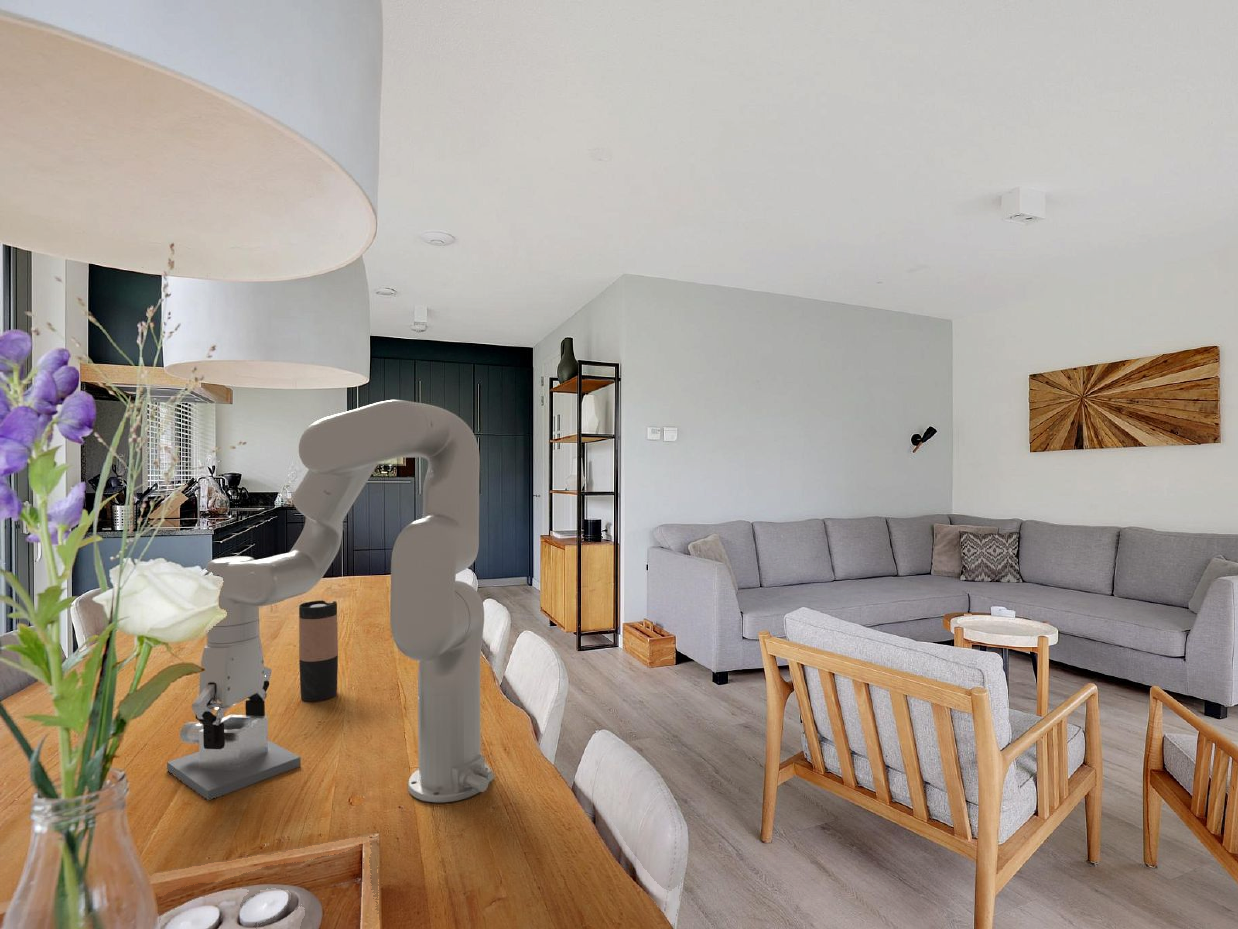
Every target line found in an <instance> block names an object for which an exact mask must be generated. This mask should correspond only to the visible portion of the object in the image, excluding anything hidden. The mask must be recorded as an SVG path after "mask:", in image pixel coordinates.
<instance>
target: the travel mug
mask: <svg viewBox="0 0 1238 929" xmlns="http://www.w3.org/2000/svg"><path fill="white" fill-rule="evenodd" d="M298 606H299V607H298V625H299V627H298V663H299V665H298V667H299V684H300V686H299V687H300V699H301V701H302V702H307V703H317V702H323V701H327V700H330V698H331V699H333V698H335V697H336V696H337V694H338V674H339V672H338V668H339V666H338V665H339V644H338V643H339V642H338V638H339V635H338V632H339V631H338V602H337V601H335V600H334V601H332V602H326V601H325V600H314V601H313V600H312V601H308V602H303V603H301V604H300V605H298ZM334 696H335V697H334Z"/></svg>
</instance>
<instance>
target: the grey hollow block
mask: <svg viewBox="0 0 1238 929" xmlns="http://www.w3.org/2000/svg"><path fill="white" fill-rule="evenodd" d="M221 723H224V737H225V746H224V748H222V749H205V748H204V741H203V725H201V724H200V721H187V722H185V724H183V726H182V727H181V729H180V733H179V739H180V740H181V742H182V743H184V744H185V743H186V744H198V752H199V768H200V769H218V770H236V771H240V770H241V769H243V768H244V767H246V766H247V765H249V764H250V763H252V762H253V761H254V760H256V759H257V758H259V757H260V756H262V755H263V754H265V753H266V752H268V740H269V738H268V736H269V733H268V732H269V730H268V729H269V728H268V726H269V724H268V723H269V718H268V716H267V715H265V716H252V715H246V714H228V715H227V716H223V718H222V720H221ZM233 729H239V730H233Z"/></svg>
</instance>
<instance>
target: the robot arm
mask: <svg viewBox="0 0 1238 929" xmlns="http://www.w3.org/2000/svg"><path fill="white" fill-rule="evenodd" d="M298 454H299V458H300V461H301V463H302V464H303V465H304V467H305V468H307V469H308V470H307V471H306V473H305V475H304V477H303V478H302V480H301V482H300V483H299V485H298V487H297V488H296V489H295V491H294V492H293V495H292V504H293V506H294V508H296V510H297V511H298V512H299V513H300V514H301V515H303V516H304V517H305V522H304V526H303V528H302V531H301V533H300V535H299V537H298V539H297V540H296V542H295V543H294V544H293V546H292V548H291V549H290V551H288V552H286V553H280V554H276V555H275V554H274V555H272V556H268V557H265V558H264V557H263V558H259V559H255V558H254V557H252V556H247V555H244V556H243V555H242V556H241V555H237V556H226V557H219V558H214V559H212V560H210V561H209V562H208V563H207V564H206V567H205V570H207V571H209V572H212V573H213V574H214V575H219V576H222V577H223V581H224V583H223V586H222V588H221V591H220V596H219V607H220V608H221V609H224V610H226V612H227V616H226V618H224V619H223V620H221V621H220V622H219V623H217V624H216V626H213V628H212V629H211V630H209V632H208V633H207V632H206V645H205V646H204V647H203V651H202V655H201V659H200V660H201V661H200V667H203V668H204V669H205V671H204V672H200V671H199V679H198V680H199V683H198V696H197V697H196V699H195V700H194V701H193V702H192V703H191V707H190V708H191V709H192V711H193V714H194V715H195V720H197V722H200V724H201V725H203V741H204V748H205V749H222V748H224V746H225V737H224V723H221V720H222V718H224V717H225V713H226V710H227V709H229V708H231V707H233V706H235V705H237V704H239V703H241V702H243V701H245V702H244V703H245V704H244V705H245V707H244V708H245V715H252V716H266V708H265V705H266V704H265V703H266V702H265V700H266V699H267V696H268V693H267V690H268V689H269V687H270V680H271V679H270V678H271V675H272V670H273V669H272V668H271V667H266V666H265V663H264V652H263V647H262V641H261V635H260V612H259V611H260V607H267V606H271V605H274V604H277V603H281V602H283V601H285V600H289V599H291V598H295V597H298V596H302V595H304V594H306V593H308V592H310V591H311V590H312V589H314V588H315V586H317V585H318V583H319V582H320V581H321V580H322V578H324V575H325V574H326V573H327V571H328V569H329V568H330V567H331V564H332V563H333V562H334V560H335V559H336V556H337V554H338V552H339V550H340V547H341V543H342V537H343V531H344V519H345V518H346V516H347V514H348V513H349V511H350V510H351V507H352V506H353V504H354V503H355V501H356V500H357V499H358V497H359V495H360V494H361V492H362V490H363V488H364V487H365V485H366V484H367V482H368V480H369V479H370V477H371V476H372V474H373V473H374V471H375V469H376V468H377V466H378V464H379V463H381V462H385V461H389V460H393V459H398V458H399V459H400V458H423V459H425V460H427V464H428V465H427V469H426V470H427V472H426V474H425V478H424V480H423V481H424V482H423V487H422V488H423V490H422V497H423V504H422V517H421V518H420V519H419V518H418V519H416V520H414V521H412V522H410V523H409V524H408V525H407V526H405V527H404V528H403V529H402V531H401V532H400V533H399V534H398V536H397V538H396V539H395V542H394V544H393V549H392V552H391V559H390V560H391V563H390V603H389V605H390V606H389V610H390V612H389V617H390V618H389V619H390V621H389V624H390V625H389V626H390V633H391V637H392V640H393V642H394V644H395V646H396V648H397V649H398V650H399V652H400V653H402V655H404V656H405V657H407V658H409V659H411V660H413V661H417V662H418V672H417V716H418V717H417V719H418V720H417V723H418V725H417V728H418V730H417V735H418V737H417V738H418V739H417V740H418V743H417V744H418V745H417V746H418V769H416V770H415V771H414V772H413V773H412V774H411V775H410V777H409V778H408V781H407V783H408V784H407V785H408V786H407V789H408V793H409V794H410V795H411V796H412V797H414V798H416V799H418V800H420V801H422V802H429V803H437V804H438V803H452V802H457V801H461V800H465V799H469V798H470V797H473V796H476V795H477V794H479V793H484V792H485V791H487V789H488V787H489V784H490V782H492V781H493V780H494V778H495V772H494V771H492V769H491V768H490V767H489V765H488V764H487V763H486V760H485V759H486V758H485V755H482V736H481V735H482V733H481V732H482V731H481V730H482V729H481V728H482V726H481V723H482V719H481V718H482V717H481V716H482V715H481V714H482V713H481V711H482V710H481V705H482V704H481V682H482V681H481V680H482V679H481V676H482V675H481V672H482V670H481V669H482V668H481V661H482V657H481V656H482V644H483V642H482V641H483V636H484V627H485V606H484V602H483V600H482V597H481V595H480V594H479V592H478V591H477V590H476V589H475V587H473V586H472V585H470V584H469V583H467V582H464V581H461V580H456V575H457V574H460V573H461V572H463V571H465V570H467V569H468V568H469V567H471V566H473V564H474V563H475V561H476V559H477V556H478V552H479V547H480V546H479V545H480V534H479V533H480V532H479V530H480V528H479V527H480V468H481V467H480V466H481V465H480V464H481V463H480V462H481V461H480V459H481V458H480V450H479V444H478V441H477V438H476V436H475V434H474V432H473V430H472V429H471V427H470V426H469V425H468V424H467V423H466V422H465V421H464V420H463V419H462V418H460V417H459V416H457V414H455V413H453V412H451V411H449V410H448V409H445V408H442V407H439V406H436V405H432V404H427V403H422V402H415V401H409V400H402V399H390V400H384V401H379V402H374V403H371V404H368V405H365V406H364V405H363V406H361V407H358V408H355V409H351V410H348V411H344V412H341V413H336V414H332V415H329V416H326V417H323V418H320V419H318V420H316V421H314V422H313V423H311V424H310V425H309V426H308V427H307V428H306V429H304V431H303V433H302V434H301V436H300V439H299V444H298ZM214 710H216V713H215V715H214V713H213V712H214Z"/></svg>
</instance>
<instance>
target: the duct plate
mask: <svg viewBox="0 0 1238 929" xmlns="http://www.w3.org/2000/svg"><path fill="white" fill-rule="evenodd" d="M233 730H239V729H233ZM301 759H302V758H301V756H299V755H298V754H296V753H294V752H292V751H290V750H288V749H286V748H285V747H283V746H281V745H279V744H276V743H274V742H273V741H271V740H269V739H268V752H266V753H265V754H263V755H262V756H260V757H259V758H257V759H256V760H254V761H253V762H252V763H250V764H249V765H247V766H246V767H244V768H243V769H241V770H240V771H236V770H218V769H200V768H199V751H196V752H194V753H191V754H187V755H185V756H182V757H178V758H175V759H172V760H169V761H167V762H166V771H167V770H168V771H169V772H170V773H172V774H173V775H175V776H174V777H175V778H176V777H177V778H178V779H177V778H176V779H177V780H179V781H180V780H181V781H182V782H181V781H180V782H181V783H183V784H185V785H186V786H187V785H188V786H187V787H188V788H190V789H191V788H192V789H191V790H192V791H194V790H195V791H196V792H195V791H194V792H195V793H196V794H198V795H199V794H200V795H199V796H201V797H202V796H203V797H202V798H203V799H205V798H206V799H207V800H206V799H205V800H206V801H208V802H210V801H212V800H214V799H213V798H215V799H217V798H220V797H222V795H223V796H225V795H228V794H230V793H233V792H236V791H238V790H241V789H244V788H246V787H249V786H251V785H255V784H257V783H259V782H261V781H264V780H265V781H266V780H268V779H270V778H273V777H275V776H277V775H281V774H282V773H283V774H284V773H286V772H288V771H290V770H293V769H296V768H299V767H301ZM168 771H167V772H168ZM169 772H168V773H169ZM170 773H169V774H170ZM172 774H171V775H172ZM173 775H172V776H173ZM216 797H217V798H216ZM211 799H212V800H211ZM209 800H210V801H209Z"/></svg>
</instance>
